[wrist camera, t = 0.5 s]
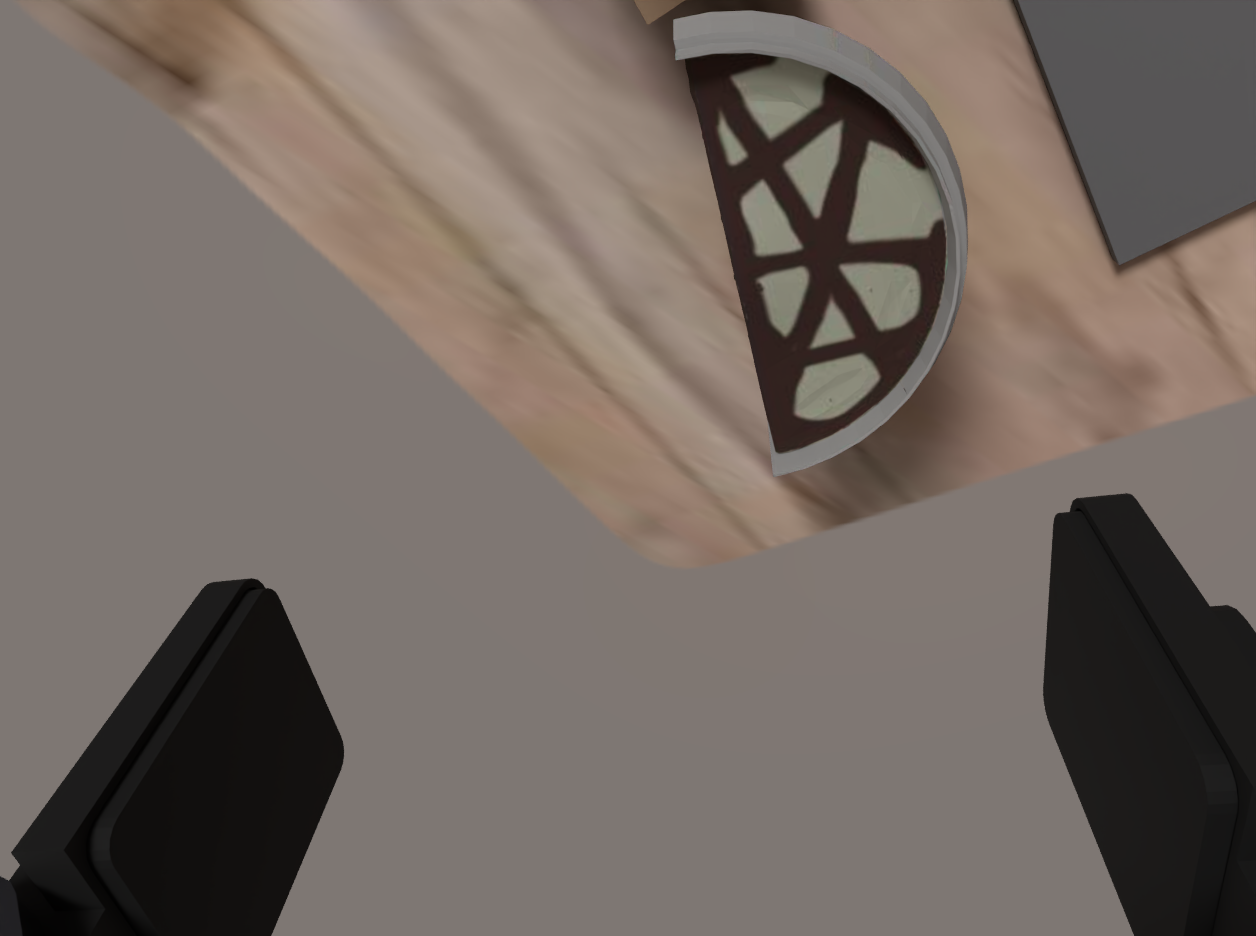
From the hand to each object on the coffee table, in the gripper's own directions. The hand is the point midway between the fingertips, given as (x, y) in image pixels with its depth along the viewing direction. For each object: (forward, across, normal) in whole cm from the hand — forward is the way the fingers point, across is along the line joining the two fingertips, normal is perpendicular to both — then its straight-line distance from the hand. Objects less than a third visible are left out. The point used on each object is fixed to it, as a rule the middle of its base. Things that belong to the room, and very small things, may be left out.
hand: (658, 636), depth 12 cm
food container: (+24, -4, +1) cm, 25 cm away
